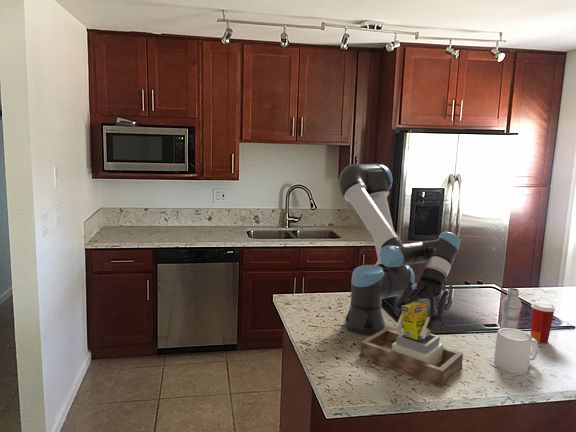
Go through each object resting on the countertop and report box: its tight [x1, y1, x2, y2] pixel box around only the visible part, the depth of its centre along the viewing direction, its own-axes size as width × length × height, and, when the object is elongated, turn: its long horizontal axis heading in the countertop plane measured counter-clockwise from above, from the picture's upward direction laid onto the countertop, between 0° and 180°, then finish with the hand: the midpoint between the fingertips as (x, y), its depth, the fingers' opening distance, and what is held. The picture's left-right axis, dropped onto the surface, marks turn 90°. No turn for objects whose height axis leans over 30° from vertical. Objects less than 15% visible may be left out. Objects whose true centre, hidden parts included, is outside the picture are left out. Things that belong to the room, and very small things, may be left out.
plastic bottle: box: [499, 287, 523, 330], centre depth 167 cm, size 6×7×20 cm
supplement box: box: [401, 301, 431, 342], centre depth 149 cm, size 6×6×11 cm
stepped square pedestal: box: [392, 331, 444, 366], centre depth 150 cm, size 12×12×8 cm
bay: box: [359, 327, 464, 388], centre depth 152 cm, size 28×17×5 cm, turn 49°
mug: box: [493, 328, 539, 374], centre depth 151 cm, size 14×10×11 cm
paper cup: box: [530, 300, 556, 345], centre depth 170 cm, size 8×8×14 cm
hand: (409, 333), depth 147 cm, fingers closed on supplement box, 8 cm apart
